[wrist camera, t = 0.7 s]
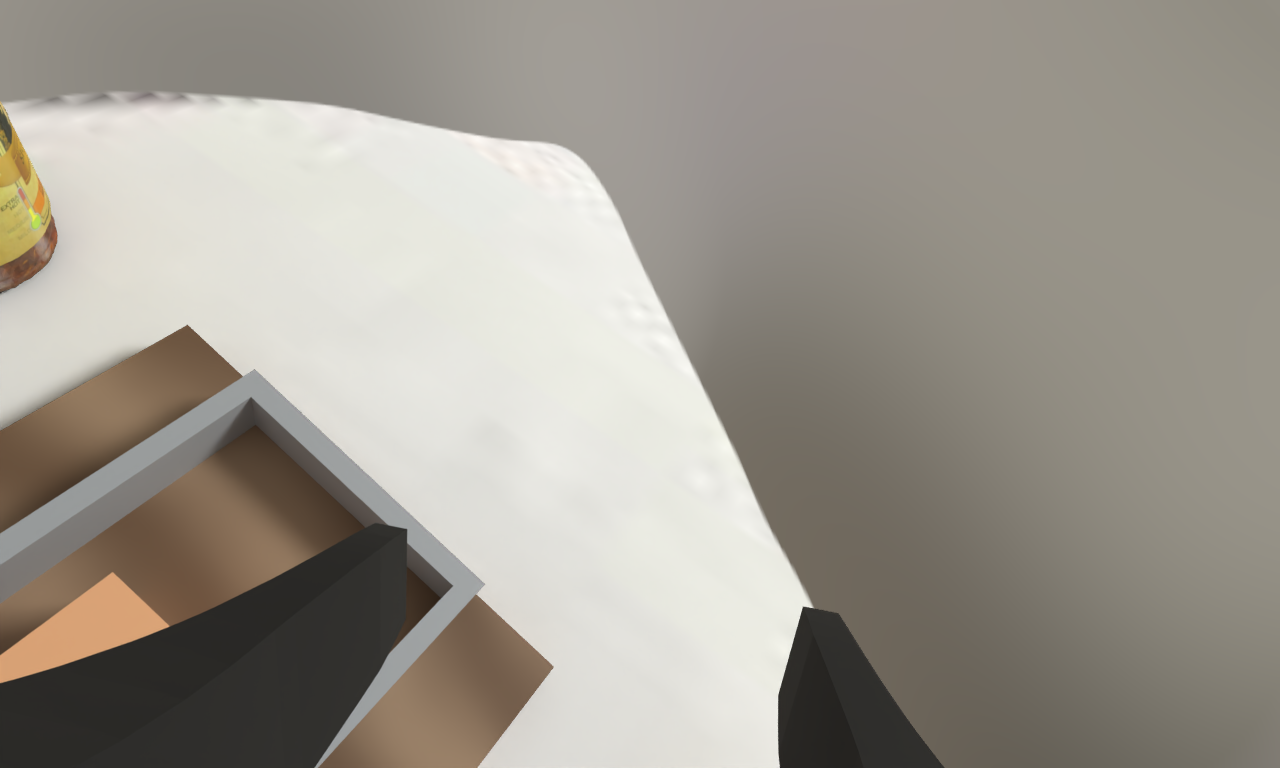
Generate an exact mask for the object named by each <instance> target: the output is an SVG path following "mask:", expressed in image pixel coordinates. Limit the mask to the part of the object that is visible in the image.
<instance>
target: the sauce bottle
mask: <svg viewBox="0 0 1280 768" xmlns="http://www.w3.org/2000/svg"><path fill="white" fill-rule="evenodd" d="M56 244H57V231H56V227H55V223H54V218H53V216H52V214H51V208H50V201H49V198H48V196H47V194H46V192H45V190H44V188H43V186H42V184H41V182H40V180H39V178H38V176H37V174H36V172H35V169H34V167H33V165H32V163H31V161H30V159H29V157H28V155H27V154H26V152H25V150H24V148H23V146H22V144H21V142H20V140H19V138H18V136H17V134H16V132H15V130H14V128H13V126H12V124H11V122H10V120H9V117H8V114H7V112H6V110H5V108H4V107H3V105H2V103H1V102H0V292H2V291H5V290H8V289H11V288H15V287H17V286H18V285H19V284H21V283H22V282H24V281H26V280H28V279H30V278H32V277H33V276H34V275H35V274H36V273H37V272H39V271H40V270H41V269H42V268H43V267H45V266H46V265H47V264H48V262H49V261H50V259H51V257H52V254H53V253H54V249H55V246H56Z"/></svg>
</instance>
